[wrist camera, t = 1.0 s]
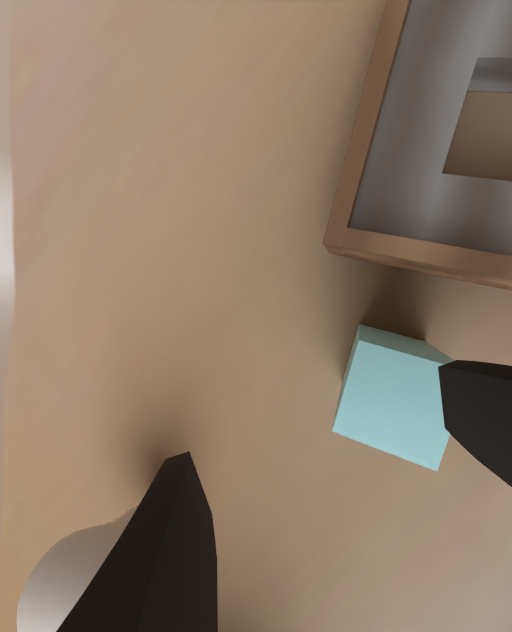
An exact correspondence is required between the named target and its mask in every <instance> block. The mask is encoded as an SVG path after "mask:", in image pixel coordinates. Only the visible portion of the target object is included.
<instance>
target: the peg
mask: <svg viewBox="0 0 512 632" xmlns="http://www.w3.org/2000/svg"><path fill="white" fill-rule="evenodd" d="M453 361H454V360H453V359H451V358H450V357H448V356H447V355H445V354H444V353H442V352H441V351H439V350H438V349H436V348H435V347H433V346H432V345H430V344H429V343H427V342H425V341H422V340H418V339H414V338H411V337H407V336H403V335H399V334H396V333H392V332H388V331H384V330H381V329H377V328H373V327H369V326H366V325H362V324H359V326H358V329H357V333H356V336H355V339H354V343H353V346H352V350H351V353H350V356H349V360H348V363H347V367H346V370H345V374H344V377H343V380H342V385H341V390H340V395H339V400H338V404H337V409H336V414H335V419H334V424H333V429H332V431H333V432H335V433H338V434H341V435H343V436H346V437H348V438H351V439H354V440H356V441H359V442H361V443H364V444H367V445H369V446H372V447H374V448H377V449H380V450H382V451H385V452H388V453H390V454H393V455H395V456H398V457H401V458H403V459H406V460H408V461H411V462H414V463H416V464H419V465H422V466H424V467H427V468H429V469H432V470H435V471H437V470H438V467H439V464H440V461H441V459H442V456H443V453H444V450H445V447H446V445H447V442H448V439H449V436H450V433H449V432H448V431H447V430H446V429H445V426H444V417H443V408H442V399H441V390H440V381H439V372H438V366H441V365H444V364H447V363H450V362H453Z"/></svg>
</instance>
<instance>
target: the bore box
mask: <svg viewBox="0 0 512 632" xmlns="http://www.w3.org/2000/svg"><path fill="white" fill-rule="evenodd" d="M467 91H485V92H512V0H387V2H386V6H385V9H384V13H383V17H382V21H381V24H380V28H379V32H378V36H377V40H376V43H375V47H374V51H373V55H372V59H371V62H370V66H369V70H368V74H367V77H366V81H365V85H364V89H363V93H362V96H361V100H360V104H359V108H358V111H357V115H356V119H355V123H354V127H353V130H352V134H351V138H350V142H349V145H348V149H347V153H346V157H345V161H344V164H343V168H342V172H341V176H340V179H339V183H338V187H337V191H336V195H335V198H334V202H333V206H332V210H331V214H330V217H329V221H328V225H327V229H326V232H325V236H324V240H323V244H324V246H325V247H326V248H327V250H328V251H329V253H331V254H336V255H340V256H345V257H350V258H355V259H360V260H365V261H370V262H375V263H380V264H384V265H389V266H394V267H399V268H404V269H409V270H414V271H419V272H424V273H428V274H433V275H438V276H443V277H448V278H453V279H458V280H463V281H468V282H473V283H477V284H482V285H487V286H492V287H497V288H502V289H507V290H512V181H505V180H496V179H487V178H478V177H469V176H460V175H451V174H442V171H443V167H444V164H445V161H446V158H447V154H448V151H449V148H450V145H451V141H452V138H453V135H454V132H455V129H456V125H457V122H458V119H459V116H460V112H461V109H462V106H463V103H464V100H465V96H466V93H467Z"/></svg>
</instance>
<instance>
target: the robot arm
mask: <svg viewBox="0 0 512 632" xmlns="http://www.w3.org/2000/svg"><path fill="white" fill-rule="evenodd" d="M438 372H439V381H440V390H441V399H442V408H443V417H444V426H445V429H446V430H447V431H448V432H449V433H450V434H451V435H452V436H453V437H454V438H455V439H456V440H457V441H458V442H459V443H460V444H461V445H462V446H463V447H464V448H465V449H466V450H467V451H468V452H469V453H470V454H472V455H473V456H474V457H475V458H476V459H477V460H478V461H479V462H481V463H482V464H483V465H484V466H486V467H487V468H488V469H489V470H491V471H492V472H493V473H495V474H496V475H497V476H498V477H500V478H501V479H502V480H503V481H505V482H506V483H507V484H509V485H510V486H511V487H512V366H508V365H501V364H493V363H485V362H476V361H464V360H456V361H453V362H450V363H447V364H444V365H441V366H438ZM56 632H218V622H217V555H216V545H215V536H214V527H213V518H212V513H211V510H210V507H209V504H208V502H207V499H206V496H205V493H204V491H203V488H202V485H201V482H200V479H199V477H198V474H197V471H196V468H195V466H194V463H193V460H192V457H191V455H190V452H186V453H183V454H180V455H177V456H174V457H171V458H168V459H166V460H165V461H164V463H163V465H162V466H161V468H160V470H159V472H158V473H157V475H156V477H155V478H154V480H153V482H152V484H151V485H150V487H149V489H148V490H147V492H146V494H145V496H144V497H143V499H142V501H141V502H140V504H139V506H138V508H137V509H136V511H135V513H134V514H133V516H132V518H131V519H130V521H129V523H128V524H127V526H126V528H125V529H124V531H123V532H122V534H121V536H120V537H119V539H118V541H117V542H116V544H115V545H114V547H113V548H112V550H111V551H110V553H109V554H108V556H107V557H106V559H105V561H104V562H103V564H102V565H101V567H100V568H99V570H98V571H97V573H96V574H95V576H94V577H93V579H92V580H91V582H90V583H89V585H88V586H87V588H86V590H85V591H84V593H83V594H82V595H81V597H80V598H79V600H78V601H77V603H76V604H75V606H74V607H73V608H72V610H71V611H70V613H69V614H68V615H67V617H66V618H65V620H64V621H63V622H62V624H61V625H60V627H59V628H58V629H57V631H56Z"/></svg>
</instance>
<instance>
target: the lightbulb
mask: <svg viewBox="0 0 512 632" xmlns="http://www.w3.org/2000/svg"><path fill="white" fill-rule="evenodd" d="M137 508H138V506H137V507H136V508H132V509H130V510H129V511H127V512H126V513H125V514H124V515H122V516H121V517H119V518H118V519H116V520H115V521H112V522H110V523H107V524H105V525H99V526H94V527H90V528H87V529H83V530H79V531H76V532H74V533H72V534H70V535H69V536H67V537H65V538H63V539H62V540H60V541H59V542H57V543H56V544H55V545H54V546H52V547H51V548H50V549H49V551H48V552H47V553H46V554H45V555H44V556H43V557H42V558H41V559H40V561H39V562H38V563H37V565H36V566H35V567H34V569H33V570H32V572H31V574H30V576H29V578H28V580H27V582H26V584H25V586H24V588H23V591H22V594H21V597H20V600H19V604H18V611H17V631H18V632H56V631H57V629H58V628H59V627H60V625H61V624H62V622H63V621H64V620H65V618H66V617H67V615H68V614H69V613H70V611H71V610H72V608H73V607H74V606H75V604H76V603H77V601H78V600H79V598H80V597H81V595H82V594H83V593H84V591H85V590H86V588H87V586H88V585H89V583H90V582H91V580H92V579H93V577H94V576H95V574H96V573H97V571H98V570H99V568H100V567H101V565H102V564H103V562H104V561H105V559H106V557H107V556H108V554H109V553H110V551H111V550H112V548H113V547H114V545H115V544H116V542H117V541H118V539H119V537H120V536H121V534H122V532H123V531H124V529H125V528H126V526H127V524H128V523H129V521H130V519H131V518H132V516H133V514H134V513H135V511H136V509H137Z"/></svg>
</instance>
